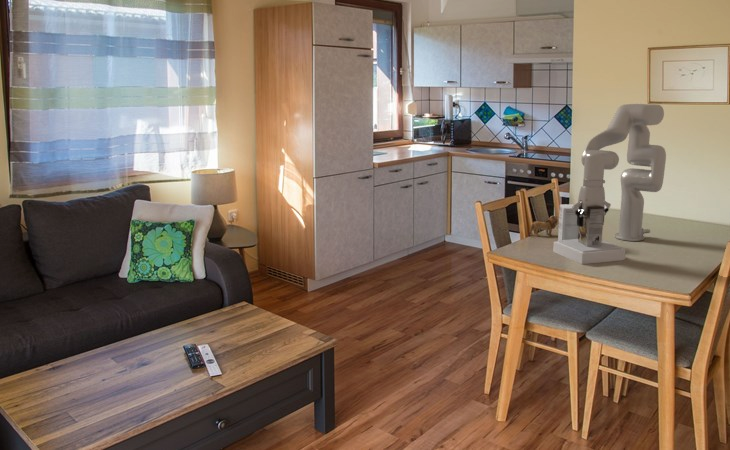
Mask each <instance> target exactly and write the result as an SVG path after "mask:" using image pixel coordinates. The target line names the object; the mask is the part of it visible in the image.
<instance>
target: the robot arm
mask: <svg viewBox="0 0 730 450" xmlns="http://www.w3.org/2000/svg"><path fill="white" fill-rule="evenodd" d="M664 116H665V111H664V108H663V106H662V105H661V104H656V103H655V104H650V103H646V104H645V103H629V104H622V105H620V106H619V107H618V108H617V110H616V111H615V113H614V115H613V117H612V119H611V120H610V123H609V124H608V126H607V129H605V130H603V131H601V132H600V133H598V134H596V135H595V136H593V137H592V138H591V139H590V140H589V141H588V142H587V144H586V146H585V148H584V150H583V151H582V155H581V159H580V160H581V164H582V165H583V182H582V184H583V185H582V186H580V190H579V194H578V197H577V203H575V205H573V206H572V208H573V211H574V213H575V214H576V216H577V226H580V227H583V219H584V218H583V217H582V216H583V215H584V213H585V212H587V210H588V207H593V206H602V207H604V216H606V215H607V213H608V212H609V209H610V207H611V205H612V204H611V203H610V202H608V201H606V193H605V186H604V184H605V183H606V180H605V179H604V174H605V170H613V169H615V168H616V167H617V166H618V165H619V162H620V157H619V155H618V153H617V152H616V151H611V150H602V149H603V148H606V147H609V146H613V145H616V144H620V143H622V142H624V141H625V140H626V139H628V143H627V151H626V152H627V153H626V162H627V163H628V164H629V165H632V166H638V167H639V166H640V167H648V168H650V169H644V168H633V167H632V168H626V169H624V170H623V171H622V172H621V174H620V187H621V189H620V190H621V200H620V210H619V211H620V213H619V222H618V223H619V225H618V232H617V233H614V238H616V239H618V240H622V241H628V242H641V241H644V240H645V239H646V237H645V234H650V233H651V229H650V228H646V229H645V228H643V218H644V206H645V200H644V199H645V198H644V196H643V194H642V193H641V192H648V193H658V192H660V191H661V190H662V187H663V183H664V177H665V171H666V160H667V153H666V152H667V151H666V149H665V147H663V146H662V145H658V144H650V136H651V132H650V130H649V128H648V126H657V125H660V123H662V121H663V120H664ZM627 137H628V138H627ZM578 210H579V211H578ZM604 223H605V217H604V218H603V226H604V225H605V224H604Z"/></svg>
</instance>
